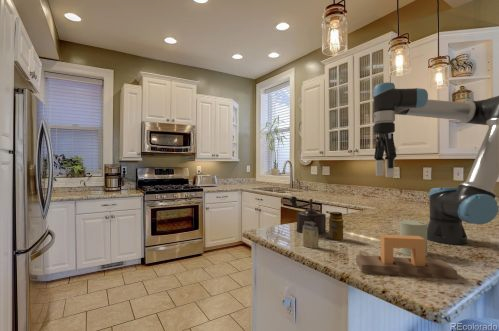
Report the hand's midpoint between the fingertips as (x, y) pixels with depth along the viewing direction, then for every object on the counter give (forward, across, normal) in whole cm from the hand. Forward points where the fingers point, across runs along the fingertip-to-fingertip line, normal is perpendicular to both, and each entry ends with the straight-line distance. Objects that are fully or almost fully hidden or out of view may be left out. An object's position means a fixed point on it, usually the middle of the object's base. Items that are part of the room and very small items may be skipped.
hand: (384, 176), depth 108 cm
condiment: (+29, -10, -18) cm, 36 cm away
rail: (+29, +23, -1) cm, 37 cm away
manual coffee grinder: (+29, -20, -30) cm, 46 cm away
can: (+29, +4, +9) cm, 30 cm away
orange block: (+29, +23, -1) cm, 37 cm away
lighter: (+29, +3, -29) cm, 41 cm away
